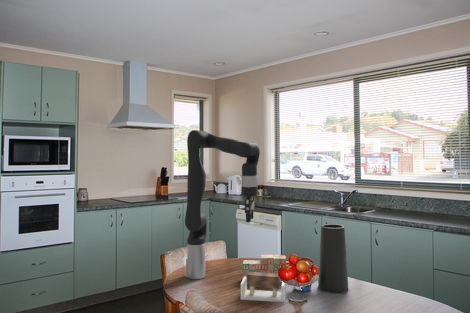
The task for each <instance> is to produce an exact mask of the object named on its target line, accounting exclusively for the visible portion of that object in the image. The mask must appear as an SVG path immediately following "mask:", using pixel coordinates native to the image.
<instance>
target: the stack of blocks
mask: <svg viewBox="0 0 470 313" xmlns="http://www.w3.org/2000/svg"><path fill="white" fill-rule="evenodd" d="M282 264H286V265H287V257H286V255H284V254H283V255H281V254H261V255H260V260H251V259H250V260H247V259H246V260H245V259H244V260H243V262H242V279H243V278H244V277H247V274H248V272H261V273H273V274H278V268H279V267H280V266H281V265H282ZM280 284H282V282H281V281H280Z"/></svg>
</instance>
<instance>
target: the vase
mask: <svg viewBox="0 0 470 313" xmlns="http://www.w3.org/2000/svg"><path fill="white" fill-rule="evenodd" d="M345 230H346V229H345V226H344V225H343V224H342V225H341V224H337V223H335V224H333V223H329V224H322V225H320V239H319V240H320V245H319V260H318V261H319V263H318V272H319V275H320V282H319V283H318V282H317V284H318V285H317V286H318V289H319V290H321V291H322V292H326V293H331V294H341V293H342V294H343V293H347V292H348V291H349V278H348V277H349V276H348V262H347V261H348V260H347V258H348V257H347V246H346V245H347V244H346V231H345ZM319 275H318V276H319Z"/></svg>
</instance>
